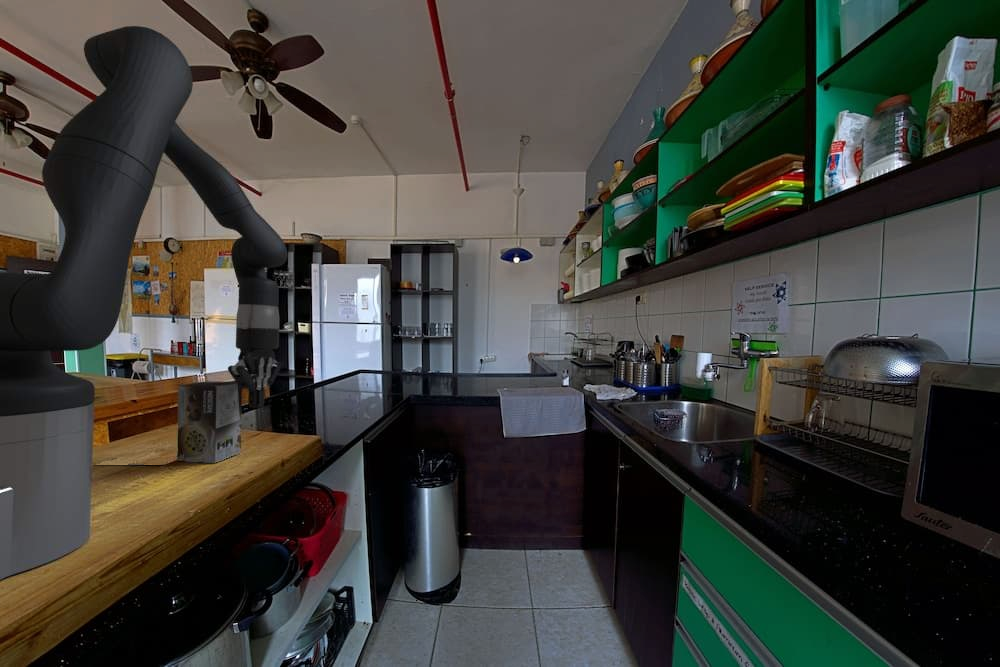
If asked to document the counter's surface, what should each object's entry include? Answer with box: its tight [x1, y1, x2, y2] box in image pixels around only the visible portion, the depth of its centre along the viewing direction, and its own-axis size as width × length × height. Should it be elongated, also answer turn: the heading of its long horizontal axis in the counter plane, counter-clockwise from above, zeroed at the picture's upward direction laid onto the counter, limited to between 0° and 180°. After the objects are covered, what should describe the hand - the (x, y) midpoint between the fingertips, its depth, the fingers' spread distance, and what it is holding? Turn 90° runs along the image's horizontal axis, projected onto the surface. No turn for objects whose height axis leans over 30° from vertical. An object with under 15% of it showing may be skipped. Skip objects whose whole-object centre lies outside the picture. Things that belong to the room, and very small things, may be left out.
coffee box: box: [176, 380, 243, 464], centre depth 71 cm, size 9×6×16 cm
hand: (256, 406), depth 71 cm, fingers closed
